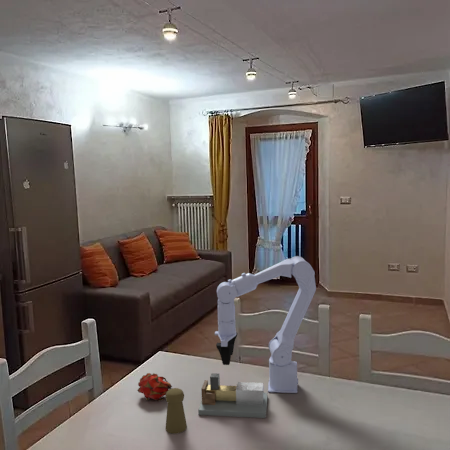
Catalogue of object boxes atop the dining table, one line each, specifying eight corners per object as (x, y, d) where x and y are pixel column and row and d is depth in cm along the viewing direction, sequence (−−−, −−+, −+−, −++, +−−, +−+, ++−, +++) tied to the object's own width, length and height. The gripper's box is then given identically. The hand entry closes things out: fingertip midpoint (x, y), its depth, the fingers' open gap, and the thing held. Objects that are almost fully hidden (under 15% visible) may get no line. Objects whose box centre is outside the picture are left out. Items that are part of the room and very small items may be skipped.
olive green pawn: (183, 434, 118) (181, 396, 117) (162, 432, 120) (160, 395, 119) (189, 422, 124) (187, 386, 123) (169, 420, 126) (167, 384, 124)
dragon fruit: (137, 398, 142) (171, 408, 139) (128, 394, 135) (163, 404, 132) (146, 372, 146) (179, 381, 143) (138, 367, 139) (172, 376, 135)
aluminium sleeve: (263, 398, 134) (263, 382, 133) (262, 406, 129) (262, 390, 128) (238, 397, 135) (237, 381, 134) (236, 405, 130) (235, 389, 129)
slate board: (267, 397, 137) (267, 392, 137) (265, 418, 125) (265, 413, 125) (205, 394, 140) (205, 390, 140) (198, 414, 128) (198, 409, 128)
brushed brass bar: (245, 396, 134) (245, 373, 133) (244, 401, 130) (244, 378, 130) (207, 394, 135) (206, 372, 134) (205, 399, 132) (205, 377, 131)
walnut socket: (217, 395, 136) (217, 380, 136) (214, 405, 131) (214, 389, 130) (205, 395, 137) (204, 380, 136) (202, 404, 131) (201, 388, 131)
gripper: (218, 312, 148) (219, 350, 150) (210, 326, 134) (212, 368, 135) (238, 312, 147) (239, 350, 149) (233, 327, 133) (234, 369, 134)
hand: (227, 359), depth 142 cm, fingers open, 7 cm apart
